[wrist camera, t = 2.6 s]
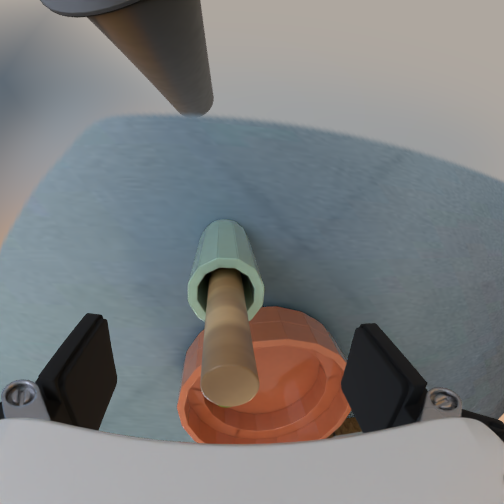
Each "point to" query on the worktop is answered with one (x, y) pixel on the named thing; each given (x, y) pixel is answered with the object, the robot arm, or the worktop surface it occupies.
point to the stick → (227, 342)
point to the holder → (225, 265)
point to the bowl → (272, 386)
